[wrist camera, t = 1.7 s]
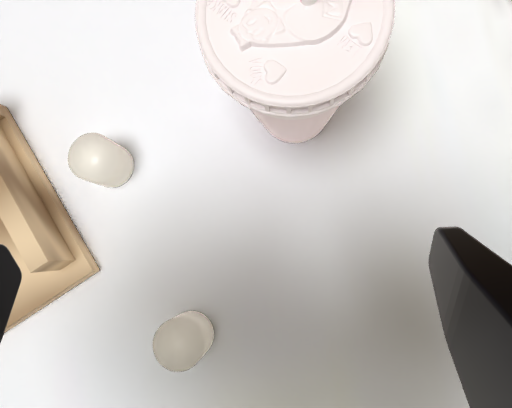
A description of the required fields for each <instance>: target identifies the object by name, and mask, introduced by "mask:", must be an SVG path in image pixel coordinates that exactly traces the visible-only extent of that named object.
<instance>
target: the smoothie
mask: <svg viewBox="0 0 512 408" xmlns="http://www.w3.org/2000/svg"><path fill="white" fill-rule="evenodd" d="M394 18H395V0H197V1H196V7H195V27H196V34H197V38H198V42H199V45H200V50H201V52H202V55H203V57H204V60H205V63H206V65H207V68H208V71H209V72H210V74H211V75H212V76H213V78H214V79H215V80H216V82H217V83H218V84H219V86H220V87H221V88H222V90H223V91H225V92H226V93H227V94H228V95H230V96H231V97H232V98H234V99H235V100H236V101H238V102H239V103H240V104H241V105H243V106H246V107H248V108H250V110H251V111H252V112H253V113H254V114H255V116H256V117H257V118H258V119H259V121H260V122H261V123H262V124H263V126H264V127H265V128H266V129H267V130H268V132H269V133H270V134H271V135H272V136H274V137H275V138H277V139H279V140H281V141H283V142H287V143H301V142H305V141H308V140H310V139H312V138H314V137H315V136H316V135H318V134H319V133H320V132H321V131H322V129H323V128H324V127H325V125H326V124H327V123H328V121H329V120H330V119H331V117H332V116H333V114H334V113H335V112H336V110H337V109H338V108H339V106H340V105H341V104H343V103H344V102H345V101H347V100H348V99H349V98H351V97H352V96H353V95H355V94H356V93H358V92H359V91H360V90H362V89H363V87H364V86H365V85H366V84H367V82H368V81H369V80H370V79H371V77H372V76H373V75H374V74H375V72H376V71H377V70H378V68H379V66H380V64H381V61H382V59H383V57H384V55H385V52H386V50H387V48H388V44H389V39H390V36H391V33H392V29H393V25H394Z"/></svg>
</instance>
